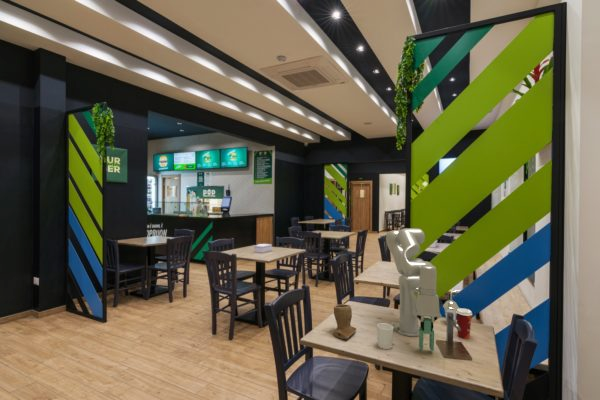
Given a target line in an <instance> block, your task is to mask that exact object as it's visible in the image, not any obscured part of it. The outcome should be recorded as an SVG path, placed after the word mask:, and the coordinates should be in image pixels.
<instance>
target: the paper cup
mask: <svg viewBox="0 0 600 400" xmlns="http://www.w3.org/2000/svg"><path fill="white" fill-rule="evenodd" d="M456 312H457V314H456V323H457V324H458V326H459V327H460V328H461V331H458V330H457V329H456V331H457V337H459V338H461V339H464V340H467V339H470V335H471V325H472V316H473V312H472V310H470V309H469V308H461V307H459V309H457V311H456Z"/></svg>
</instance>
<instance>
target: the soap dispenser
mask: <svg viewBox="0 0 600 400" xmlns="http://www.w3.org/2000/svg"><path fill="white" fill-rule="evenodd" d="M459 292H461V289H460V290H459V289H458V290H457V289H456V290H453V291H452V290H451V291H450V299H449V300H448V299H447V300H446V301H445V302H444V303H443V305H442V307H443V309H444V314H445V322H446V325H447V312H451V313H453V314H454V320H455V322H457V312H456V311H457V309H459V308H460V307H459V306H458V304H457V302H456V301H454V300H453V298H452V297H453V293H459ZM453 327H455V326H454V325H453Z"/></svg>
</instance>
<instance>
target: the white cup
mask: <svg viewBox="0 0 600 400" xmlns="http://www.w3.org/2000/svg"><path fill="white" fill-rule="evenodd" d="M376 328H377V329H376V330H377V331H376V335H377V337H376V338H377V346H378V348H380V349H382V348H383V349H382V350H390V349H392V348H393V340H394V327H393V326H392V325H391V323H387V322H380V323H377V324H376Z"/></svg>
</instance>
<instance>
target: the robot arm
mask: <svg viewBox="0 0 600 400" xmlns="http://www.w3.org/2000/svg"><path fill="white" fill-rule="evenodd" d="M425 235H426V234H425V232H424V230H422V229H421V228H418V227H417V228H416V227H415V228H413V227H412V228H410V227H409V228H407V227H404V228H402V229H401V228H400V229H394V230H390V231H388V232H387V233H386V235H385V242H386V245H387V248H388V250H389V252H390V253H391V255H392V257H393V260H394V263H395V268H396V270H397V272H398V274H400V276H399V277H398V289H399V320H398V321H397V322H390V324H391V325H392V326H393V327H394V328H396V332H397V333H398V334H400V335H403V336H407V337H419V327H421V328H422V330H424V317H427V318H430V320H431V331H432V329H433V330H434V323H435V322H436V321H437V320H438V319H441V318H443V317H442V314H441V312H440V299H439V295H438V294H437V275H438V274H437V273H438V272H437V267H436V265H435V266H434V265H433V263H431V262H430V261H425V260H424V259H422V258H419V257H414V256H417V254H419V253H420V250H421V247H420V244H423V243H424V242H425V239H426V236H425ZM415 293H417V294H415ZM419 321H420V324H419ZM419 325H420V326H419Z"/></svg>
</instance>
